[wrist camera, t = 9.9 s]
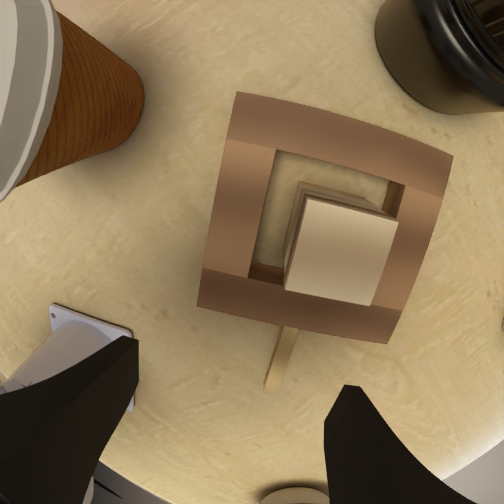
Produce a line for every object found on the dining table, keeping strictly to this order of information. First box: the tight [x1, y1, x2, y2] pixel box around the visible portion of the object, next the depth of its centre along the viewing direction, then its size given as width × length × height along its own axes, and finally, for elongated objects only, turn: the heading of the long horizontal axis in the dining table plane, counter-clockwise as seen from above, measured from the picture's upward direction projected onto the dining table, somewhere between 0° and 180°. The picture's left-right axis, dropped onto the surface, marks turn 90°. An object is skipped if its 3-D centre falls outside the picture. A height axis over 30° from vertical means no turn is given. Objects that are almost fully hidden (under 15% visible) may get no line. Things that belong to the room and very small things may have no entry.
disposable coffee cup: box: [0, 0, 144, 202], centre depth 11 cm, size 10×10×12 cm
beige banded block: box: [283, 181, 399, 306], centre depth 16 cm, size 4×4×6 cm
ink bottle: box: [376, 0, 504, 115], centre depth 8 cm, size 10×9×12 cm
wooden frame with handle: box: [197, 91, 454, 392], centre depth 18 cm, size 19×12×2 cm, turn 168°
